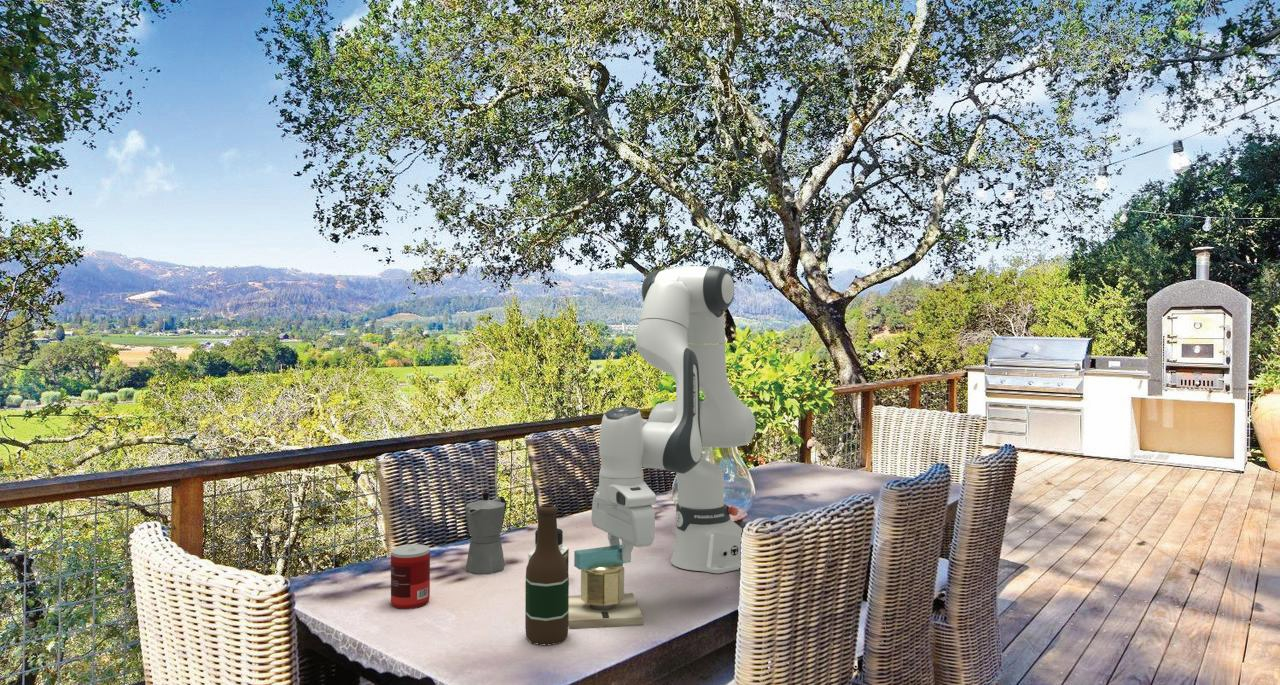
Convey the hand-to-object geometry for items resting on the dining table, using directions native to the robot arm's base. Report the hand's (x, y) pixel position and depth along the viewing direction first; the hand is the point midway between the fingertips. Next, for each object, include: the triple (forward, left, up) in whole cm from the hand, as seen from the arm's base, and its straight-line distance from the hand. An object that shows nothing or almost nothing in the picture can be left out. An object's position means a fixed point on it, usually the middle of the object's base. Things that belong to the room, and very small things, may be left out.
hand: (620, 558), depth 158 cm
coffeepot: (+18, -39, -11) cm, 44 cm away
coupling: (+4, 0, -7) cm, 8 cm away
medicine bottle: (+8, -23, -11) cm, 26 cm away
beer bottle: (+18, +8, -11) cm, 22 cm away
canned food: (+38, -21, -11) cm, 45 cm away
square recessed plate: (+4, 0, -10) cm, 11 cm away
